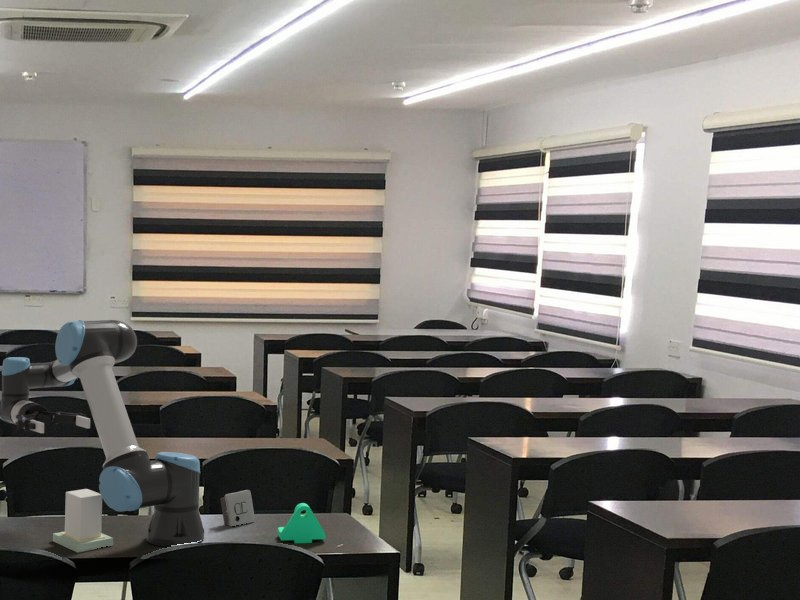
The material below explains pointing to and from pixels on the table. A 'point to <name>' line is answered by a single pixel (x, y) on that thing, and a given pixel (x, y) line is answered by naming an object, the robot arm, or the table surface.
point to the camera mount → (302, 526)
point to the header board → (82, 542)
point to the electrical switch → (237, 508)
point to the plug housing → (83, 514)
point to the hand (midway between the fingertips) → (66, 425)
